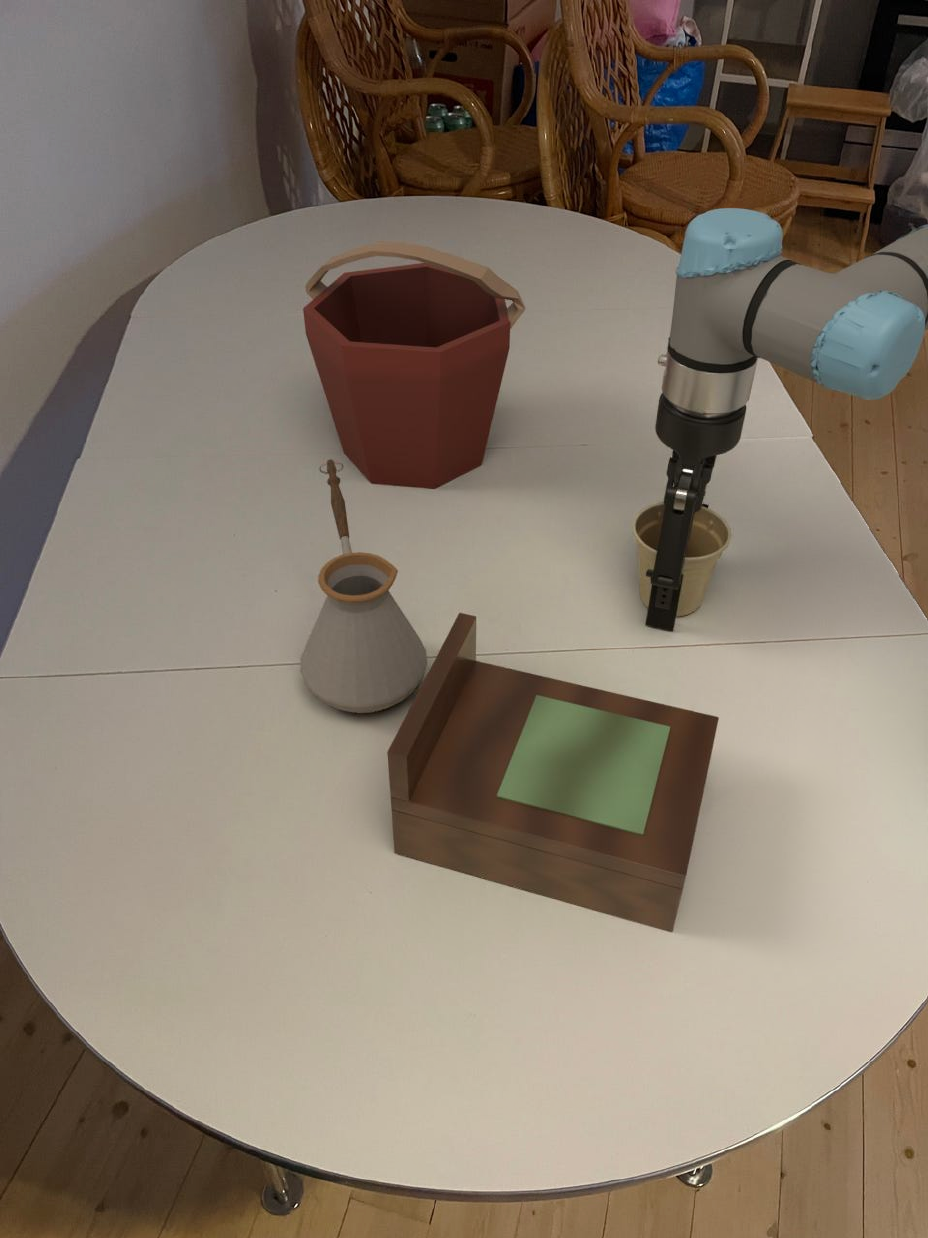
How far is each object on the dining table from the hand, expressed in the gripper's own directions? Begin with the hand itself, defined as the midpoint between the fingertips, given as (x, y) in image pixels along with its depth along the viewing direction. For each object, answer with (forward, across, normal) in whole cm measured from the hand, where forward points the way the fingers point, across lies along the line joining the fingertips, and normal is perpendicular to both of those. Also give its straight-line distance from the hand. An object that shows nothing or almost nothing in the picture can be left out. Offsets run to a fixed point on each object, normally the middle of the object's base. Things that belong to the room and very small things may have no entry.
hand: (668, 595), depth 105 cm
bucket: (+1, -17, -34) cm, 38 cm away
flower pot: (0, 0, 0) cm, 0 cm away
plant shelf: (0, +30, -4) cm, 30 cm away
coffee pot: (+1, +17, -27) cm, 32 cm away
